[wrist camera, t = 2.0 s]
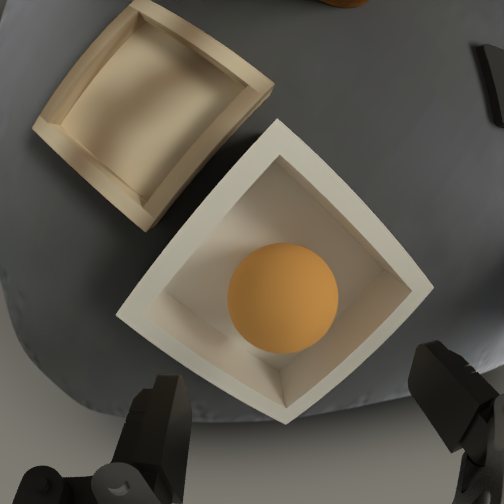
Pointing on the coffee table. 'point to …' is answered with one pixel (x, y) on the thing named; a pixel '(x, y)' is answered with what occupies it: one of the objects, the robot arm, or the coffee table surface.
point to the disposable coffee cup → (346, 3)
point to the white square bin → (259, 235)
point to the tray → (149, 109)
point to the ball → (282, 298)
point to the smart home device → (494, 78)
